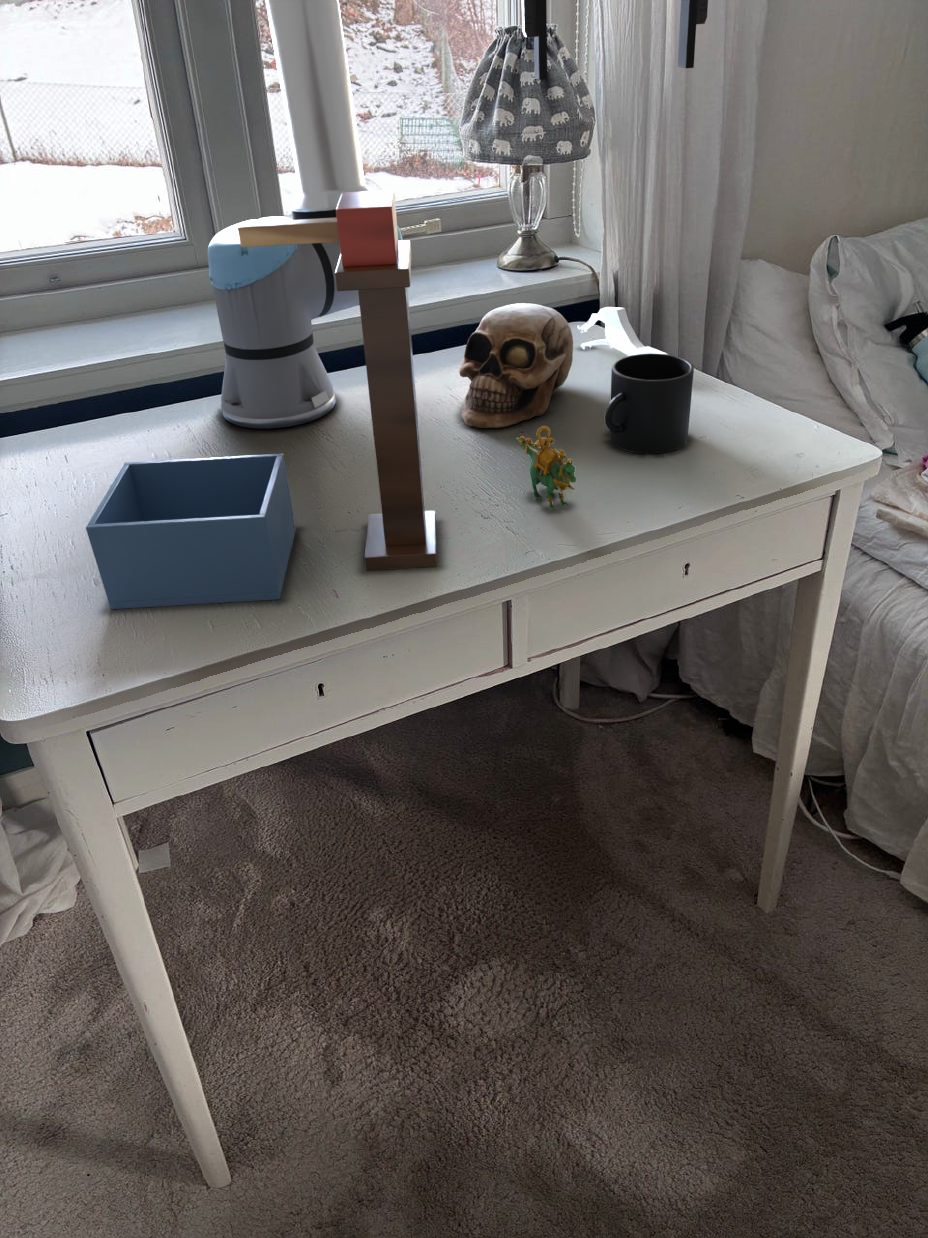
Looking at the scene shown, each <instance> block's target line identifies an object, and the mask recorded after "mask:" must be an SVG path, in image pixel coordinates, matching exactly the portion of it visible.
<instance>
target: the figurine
mask: <svg viewBox="0 0 928 1238" xmlns="http://www.w3.org/2000/svg"><path fill="white" fill-rule="evenodd" d="M544 430H545V431H546V436H542V437H541V432H542V431H544ZM535 434H536V435H535V436H536V438H537V440H536V441H535V442H534V443H533V442H532V438H530V437H528V438H526V437H525V436H524V435H521V436H519V437H516V440H517V442H518V443H519V445H520V446H521V447H522V448H523V449H524V450H525V451H524V452H525V454H526V455H527V456H529V458H530V460H531V461H530V464H529V469H528V471H529V477H530V480H531V487H532V490H533V497H534V500H535V501H536V500H540V499H542V498H543V496H542V495H541V494H540V493H539V491H538V488H537V486H538V485H539V484H540V485H542V486H543V487H545V489H544V492H545V493H546V499H547V503H548V504H549V510H552V509H553V510H556V509H557V508H556V506H554V504H553V501H554V499H553V495H556V493H555V492H554V491H555V490H556V491H558V499H559V501H560V504H561V506H562V507H566V506H568V505H569V503H568V502H565V501H564V499H565V495H564V491H566V490H567V489H570V491H576V490H577V489H576V488H575V487H574V486H573V485H572V484H573V483H576V482H577V477H576V476H575V472H576V470H577V469H576V467H575V466H574V464H573V463H574V460H573V458H568V457H567V454H566V453H565V451H564V449H560V450H559V451H557V449H556V448H553V449H552V448H551V447H550V444H551V445H554V444H555V441H556V439H555V438H552V437H550V435H551V429H550V427H549V426H546V425H542V426H539V428H537V430H536V433H535ZM564 461H565V463H564Z"/></svg>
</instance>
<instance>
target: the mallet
mask: <svg viewBox="0 0 928 1238" xmlns="http://www.w3.org/2000/svg"><path fill="white" fill-rule="evenodd" d="M336 217H337V218H319V219H302V220H293V219H292V220H285V221H267V222H250V223H241V222H240V223H241V224H240V225H239V227H238V233H239V239H240V245H241V247H259V246H276V245H293V244H311V243H328V242H339V243H340V252H341V261H342V267H359V266H376V265H394V264H397V255H398V245H399V243H398V230H397V226H398V220H397V207H396V195H395V190H394V189H384V190H383V189H381V190H372V191H364V192H347V193H342V195H341V197H340V200H339V203H338V205H337V208H336Z"/></svg>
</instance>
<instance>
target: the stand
mask: <svg viewBox="0 0 928 1238" xmlns="http://www.w3.org/2000/svg"><path fill="white" fill-rule="evenodd" d="M398 243H399V245H398V255H397V264H394V265H376V266H359V267H342V261H341V255H340V258H339V262H338V265H337V268H336V272H335V278H336V287H337V291H354V290H358V295H359V304H360V305H359V313H360V322H361V331H362V341H363V350H364V351H363V352H364V359H365V368H366V377H367V378H366V379H367V387H368V388H367V389H368V394H369V395H368V396H369V404H370V405H369V406H370V416H371V422H372V423H371V424H372V434H373V443H374V453H375V461H376V471H377V479H378V488H379V489H378V491H379V498H380V499H379V500H380V507H381V509H380V510H381V513H371V514H368V519H367V526H366V527H367V528H366V537H365V547H364V548H365V549H364V566H365V571H381V570H400V569H418V568H434V567H438V553H437V552H438V550H437V549H438V547H437V545H438V544H437V519H436V518H437V516H436V510H426V508H425V507H426V505H425V495H424V481H423V470H422V469H423V468H422V456H421V444H420V443H421V442H420V431H419V430H420V429H419V418H418V417H419V416H418V407H417V406H418V405H417V404H418V403H417V392H416V380H415V368H414V367H415V365H414V356H413V355H414V354H413V341H412V330H411V329H412V328H411V317H410V315H411V314H410V304H409V302H410V301H409V290H408V288H410V287H411V279H412V278H411V276H412V274H411V273H412V245H411V244H412V243H411V240H410V239H406V240H405V239H404V240H403V241H398Z"/></svg>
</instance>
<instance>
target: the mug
mask: <svg viewBox="0 0 928 1238" xmlns="http://www.w3.org/2000/svg"><path fill="white" fill-rule="evenodd" d="M667 354H668V353H667ZM667 354H637V355H631V356H629V355H627V356H624V357H621V358H619V359H617V360H616V361H614V362H613V363H612V366H611V375H610V376H611V377H610V378H611V379H610V399H609V402H608V405H607V406H606V409H605V413H604V424H605V426H606V428H607V430H608V437H609V440H610V442H611V443H612V444H613V446H615V447H616V448H619V449H621V450H624V451H627V452H630V453H635V454H645V455H646V454H647V455H648V454H652V455H653V454H663V453H669V452H673V451H676V450H679V449H680V448H681V447H683V446H684V445H685V443H687V440H688V438H689V429H690V428H689V426H690V418H691V406H692V396H693V395H692V394H693V384H694V372H695V367H694V365H693V364H692V362H691V361H689V360H687V359H686V358H683V357H680V356H676V355H672V354H668V355H667Z"/></svg>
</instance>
